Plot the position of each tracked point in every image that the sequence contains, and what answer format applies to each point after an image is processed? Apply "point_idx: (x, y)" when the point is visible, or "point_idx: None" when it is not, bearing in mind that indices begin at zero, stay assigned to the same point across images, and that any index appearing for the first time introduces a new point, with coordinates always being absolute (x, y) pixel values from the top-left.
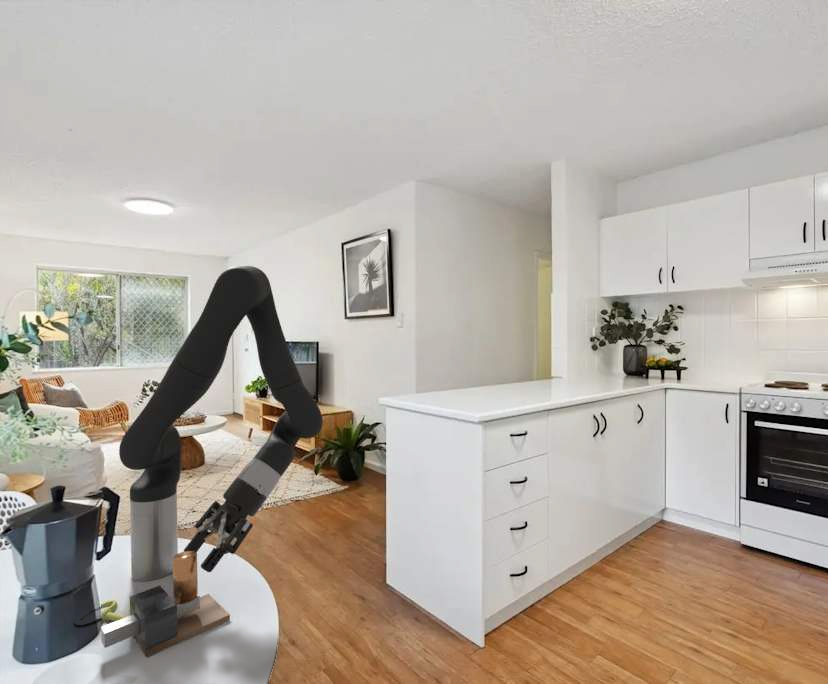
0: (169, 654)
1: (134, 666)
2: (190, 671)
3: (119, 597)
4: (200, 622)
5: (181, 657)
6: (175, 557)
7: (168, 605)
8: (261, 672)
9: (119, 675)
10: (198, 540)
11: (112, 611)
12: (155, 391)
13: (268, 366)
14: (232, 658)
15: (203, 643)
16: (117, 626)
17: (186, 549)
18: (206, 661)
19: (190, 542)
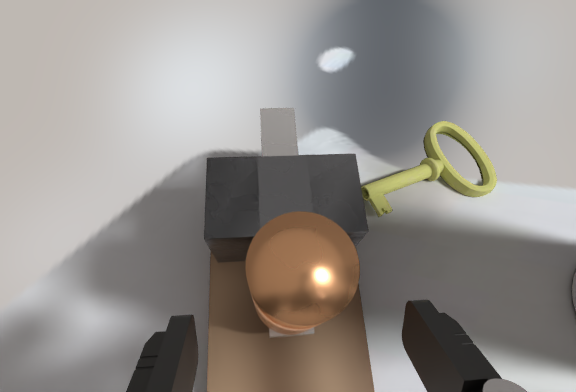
0: (187, 239)
1: (204, 179)
2: (90, 258)
3: (512, 207)
4: (233, 328)
5: (155, 256)
6: (316, 224)
7: (221, 219)
8: None
9: (199, 155)
10: (444, 381)
11: (449, 184)
12: None
13: None
14: (43, 352)
15: (164, 313)
16: (270, 131)
17: (414, 307)
18: (91, 296)
19: (444, 332)
